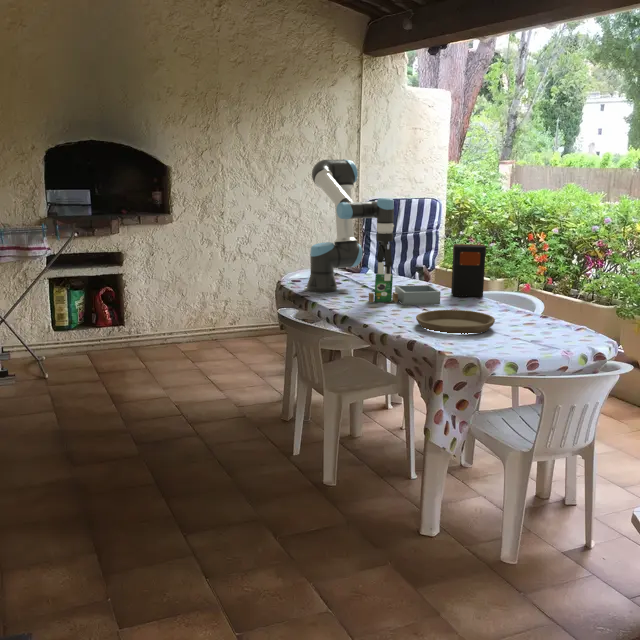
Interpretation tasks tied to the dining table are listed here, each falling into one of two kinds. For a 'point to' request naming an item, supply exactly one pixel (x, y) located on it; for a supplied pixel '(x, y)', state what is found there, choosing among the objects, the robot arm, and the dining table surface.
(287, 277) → the dining table surface
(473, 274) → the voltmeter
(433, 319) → the plant saucer
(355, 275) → the dining table surface
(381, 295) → the coffee box
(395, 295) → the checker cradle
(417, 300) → the slate bin
